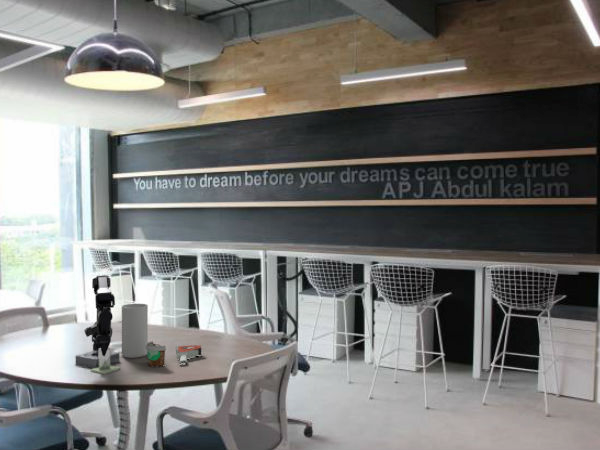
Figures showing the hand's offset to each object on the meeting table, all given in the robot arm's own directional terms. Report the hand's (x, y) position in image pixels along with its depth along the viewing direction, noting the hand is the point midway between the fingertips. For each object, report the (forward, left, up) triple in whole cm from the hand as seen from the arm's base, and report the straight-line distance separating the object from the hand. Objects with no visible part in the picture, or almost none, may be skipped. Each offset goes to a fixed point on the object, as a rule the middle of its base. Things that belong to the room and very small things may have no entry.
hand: (104, 353), depth 257 cm
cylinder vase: (-26, -7, -8) cm, 28 cm away
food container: (-17, +14, -8) cm, 23 cm away
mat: (0, +1, -8) cm, 8 cm away
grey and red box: (-34, +19, -8) cm, 40 cm away
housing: (-7, -12, -8) cm, 16 cm away
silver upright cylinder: (0, 0, -7) cm, 7 cm away
